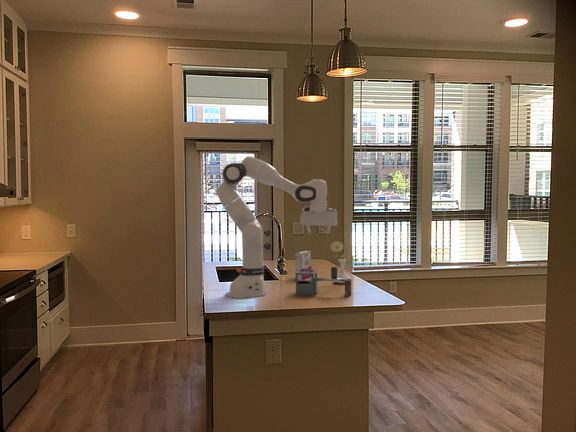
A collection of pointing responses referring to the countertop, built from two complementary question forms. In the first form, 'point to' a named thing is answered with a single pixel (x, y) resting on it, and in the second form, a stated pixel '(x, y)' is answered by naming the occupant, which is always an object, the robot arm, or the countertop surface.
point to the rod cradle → (348, 287)
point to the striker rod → (333, 278)
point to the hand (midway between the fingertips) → (318, 233)
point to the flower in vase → (338, 247)
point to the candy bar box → (303, 262)
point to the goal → (305, 283)
